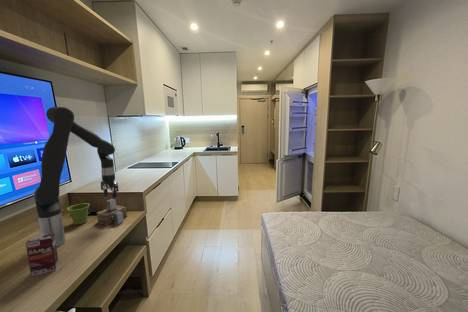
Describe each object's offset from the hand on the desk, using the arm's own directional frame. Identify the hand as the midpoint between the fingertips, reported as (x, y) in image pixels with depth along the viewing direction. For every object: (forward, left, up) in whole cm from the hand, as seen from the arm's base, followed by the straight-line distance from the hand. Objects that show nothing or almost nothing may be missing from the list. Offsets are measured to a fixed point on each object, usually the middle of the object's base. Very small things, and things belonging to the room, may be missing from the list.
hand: (110, 196), depth 137 cm
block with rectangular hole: (0, 0, -16) cm, 16 cm away
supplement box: (-45, -19, -17) cm, 52 cm away
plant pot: (-11, +16, -17) cm, 26 cm away
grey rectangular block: (-1, -8, -16) cm, 18 cm away
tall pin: (0, 0, -16) cm, 16 cm away
